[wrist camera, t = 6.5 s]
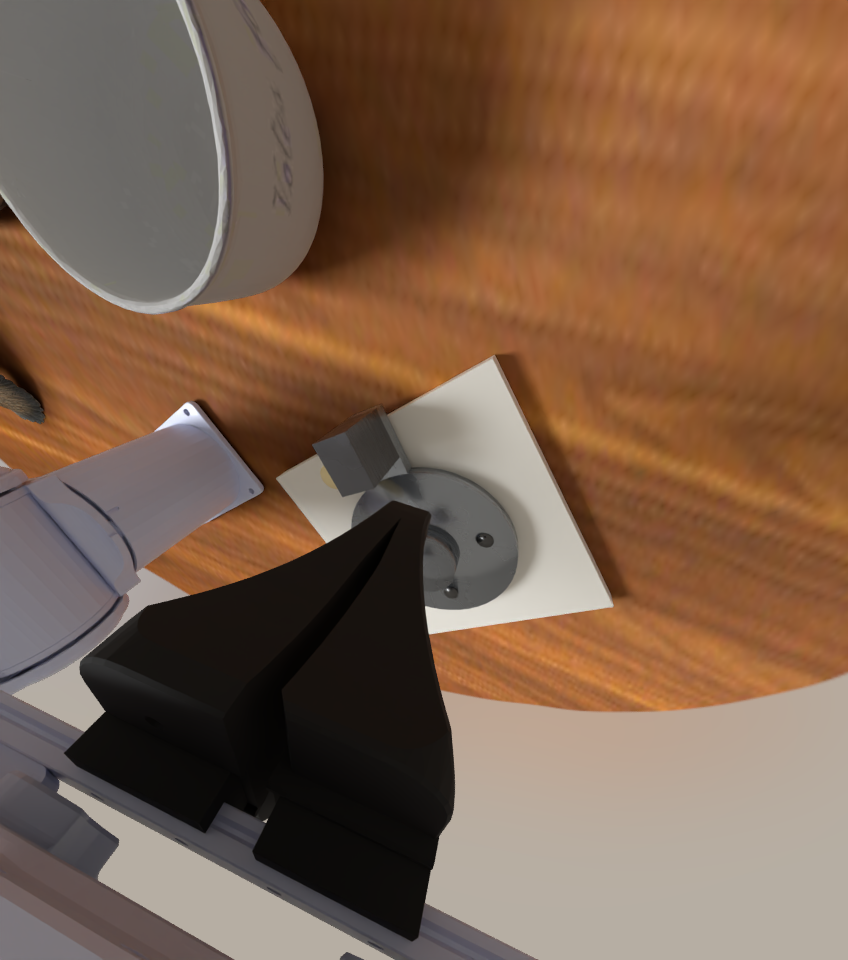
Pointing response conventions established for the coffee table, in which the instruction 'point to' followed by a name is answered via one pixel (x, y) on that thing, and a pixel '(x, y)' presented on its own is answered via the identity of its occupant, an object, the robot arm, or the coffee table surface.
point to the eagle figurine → (20, 401)
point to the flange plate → (446, 495)
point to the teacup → (158, 146)
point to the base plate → (499, 470)
